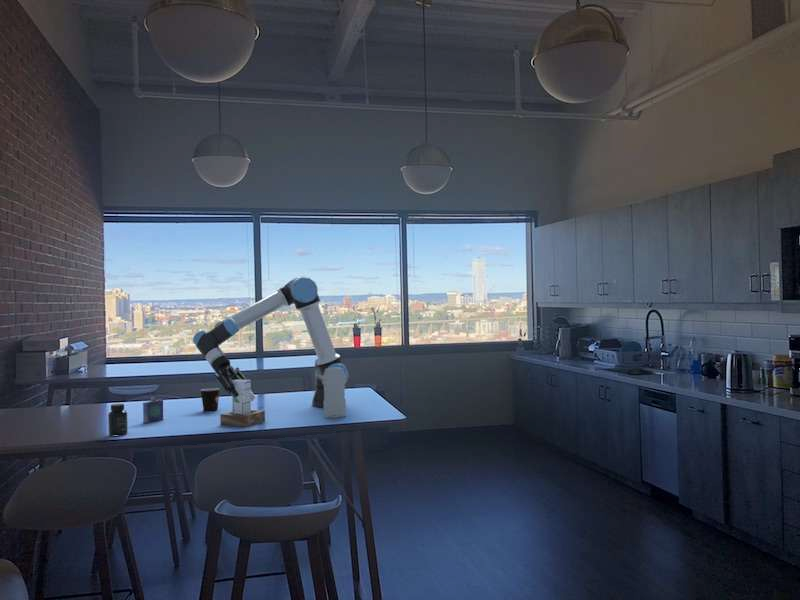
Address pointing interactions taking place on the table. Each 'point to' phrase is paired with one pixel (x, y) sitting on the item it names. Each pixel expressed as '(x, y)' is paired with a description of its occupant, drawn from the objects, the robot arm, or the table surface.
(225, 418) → the socket block
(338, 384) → the tall pale column
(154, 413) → the flask
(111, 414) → the supplement bottle
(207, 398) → the coffee mug
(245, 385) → the white printed canister
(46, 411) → the table surface
